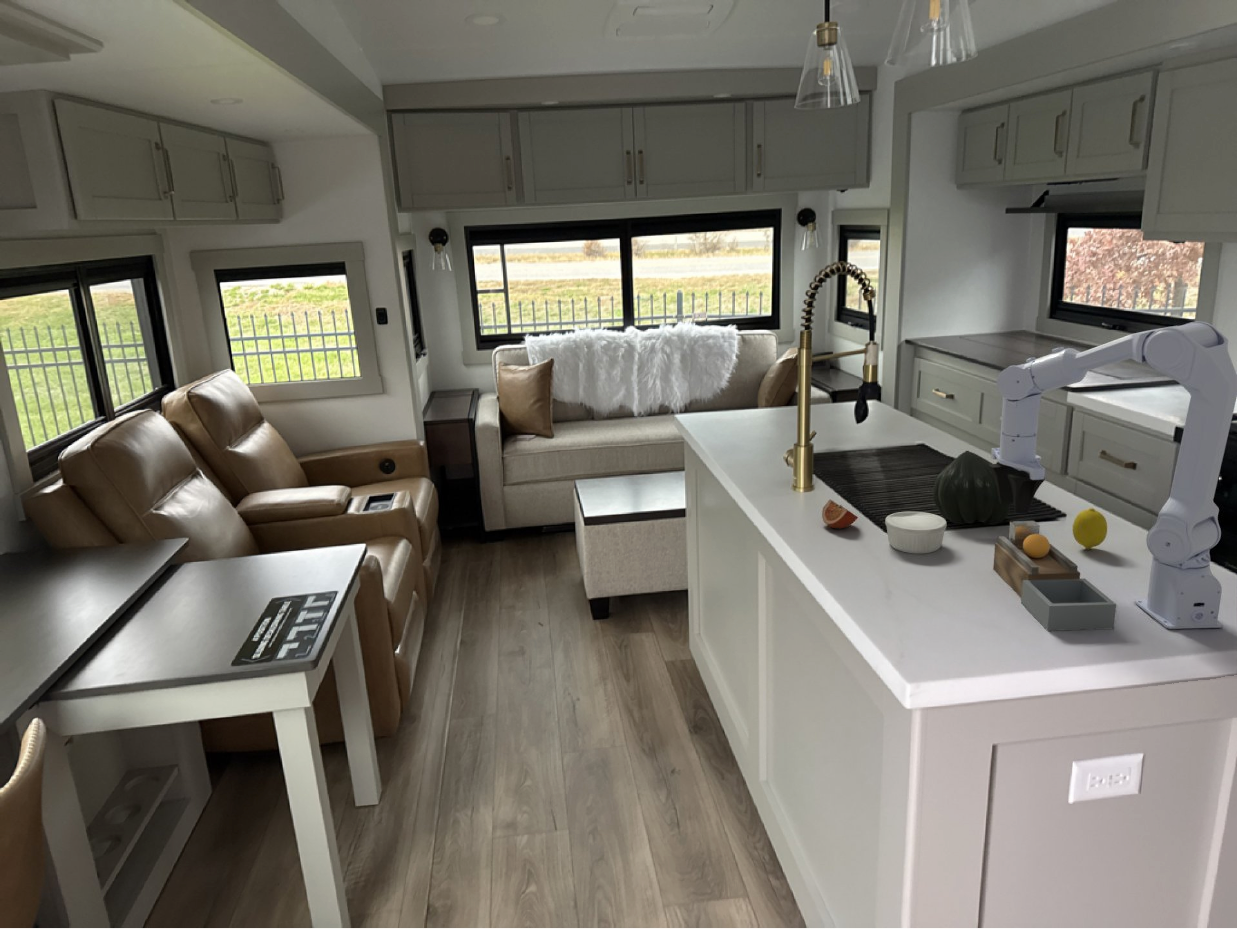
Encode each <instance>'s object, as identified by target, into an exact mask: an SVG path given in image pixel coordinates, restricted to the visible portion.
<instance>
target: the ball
mask: <svg viewBox="0 0 1237 929" xmlns="http://www.w3.org/2000/svg"><path fill="white" fill-rule="evenodd" d="M1049 543H1050V541H1049V540H1048V538H1047V537H1045V536H1044V535H1042V534H1040V533H1039V534H1032V535H1029V536H1028V537H1027V538H1026V539H1025V540H1024V543H1023V548H1024V551H1025V552H1026V554H1027V555H1029V556H1031V557H1033V558H1041V557H1043V556H1045V555H1046V554H1047V553H1048V552H1049V549H1050V544H1051V543H1050V544H1049Z"/></svg>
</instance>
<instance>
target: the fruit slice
mask: <svg viewBox="0 0 1237 929" xmlns="http://www.w3.org/2000/svg"><path fill="white" fill-rule="evenodd" d="M821 512H822V513H821V517H822V521H823V523H824V524H825V525H827V526H828V527H830V528H833V529H836V528H839V529H845V528H847V527H849V526H851V525H852V524H854V523H855V522H856V521H857V520H858V518H859V517H858V515H855V514H854V513H853V512H851V511H850V510H848V509H847V508H846V507H843V505H842V504H839V503H836V502H835V501H834V500H833V499H828V501H827V502H826V503H825V505H824V506H823V507H822V511H821Z"/></svg>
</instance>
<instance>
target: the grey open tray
mask: <svg viewBox="0 0 1237 929" xmlns="http://www.w3.org/2000/svg"><path fill="white" fill-rule="evenodd" d="M1020 598H1021V597H1020ZM1020 601H1021V602H1020V605H1022V606H1023V607H1024V608H1025V609H1026V610H1027V611H1028V612H1029V613H1030V614H1031V615H1032V617H1033V618H1034V619H1036V620H1037V621H1038V622H1039V623H1040V624H1041V625H1042V626H1043V628H1044V629H1046V630H1047V631H1077V629H1079V630H1078V631H1082V630H1081V629H1087V630H1114V629H1115V619H1116V612H1117V603H1116V602H1115V601H1113V600H1112V599H1111V598H1109V597H1108V596H1107V595H1106V594H1104V592H1102V591H1101V590H1100V589H1098V588H1097V587H1096V586H1095V585H1094V584H1092V583H1091V582H1090V581H1089V580H1088V579H1086V577H1085V578H1084V577H1083V578H1082V577H1080V579H1049V580H1023V585H1022V598H1021V600H1020Z"/></svg>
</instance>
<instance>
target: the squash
mask: <svg viewBox="0 0 1237 929" xmlns="http://www.w3.org/2000/svg"><path fill="white" fill-rule="evenodd" d="M990 464H994V463H993V462H990V461H989V460H987V459H985V458H984V457H982V456H980V455H979V454H977V453H974V452H972V451H970V450H965V451H964V452H962V453H961V454H959V455H958V456H957V457H955V459H954V460H953V461H952V462H950V463H949V464H948V465H947V466H946V467H945V468H944V469H943V470H942V471H941V472H940V473H939V474H938V476H937V477H936V479H935V480H934V481H935V482H934V484H933V489H932V490H933V491H932V497H933V502H934V504H935V507H936V509H937V510H938V513H940V514H941V515H942V516H943V518H945V519H948V521H950V523H954V524H958V525H963V524H966V523H968V524H973V523H975V522H976V521H977V522H980V523H981V522H982V523H983V524H985V525H988V526H992V525H998V524H1000V523H1002V522H1004V521H1005V519H1006V518H1007V516H1008V515H1009V512H1010V509H1011V506H1012V503H1009V504H1001V503H1000V501H999V497H998V491H997V486H996V482H995V479H994V477H993V474H992V472H991V470H990V469H989V465H990Z"/></svg>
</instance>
